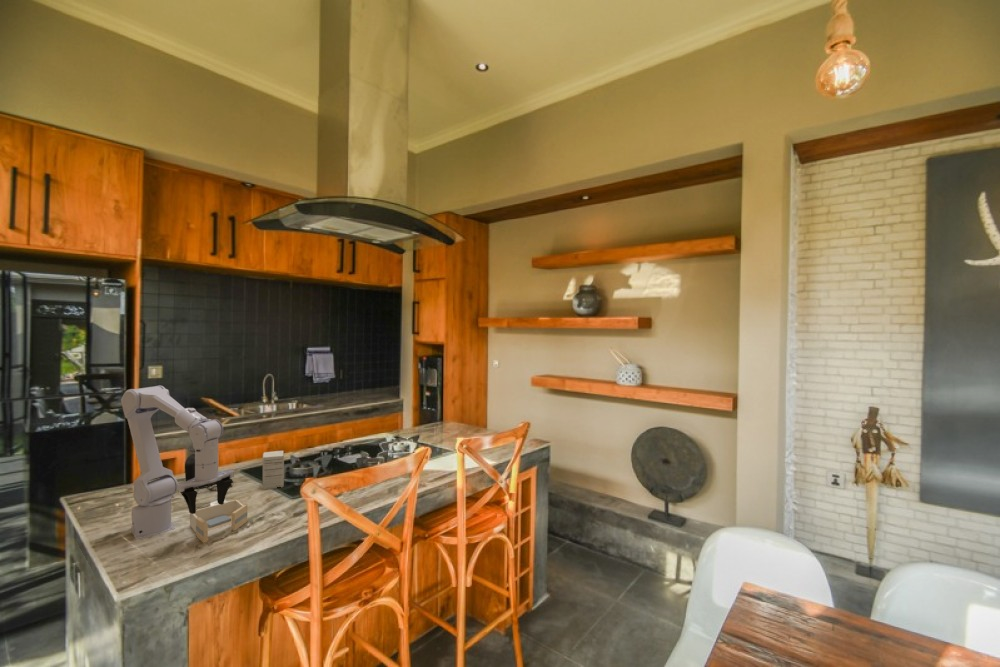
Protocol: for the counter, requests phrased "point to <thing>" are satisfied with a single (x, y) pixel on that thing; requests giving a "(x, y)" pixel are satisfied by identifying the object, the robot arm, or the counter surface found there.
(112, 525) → the counter surface
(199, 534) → the flap left
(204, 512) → the carton
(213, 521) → the booklet
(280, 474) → the supplement box
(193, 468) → the milk frother
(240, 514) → the flap right
